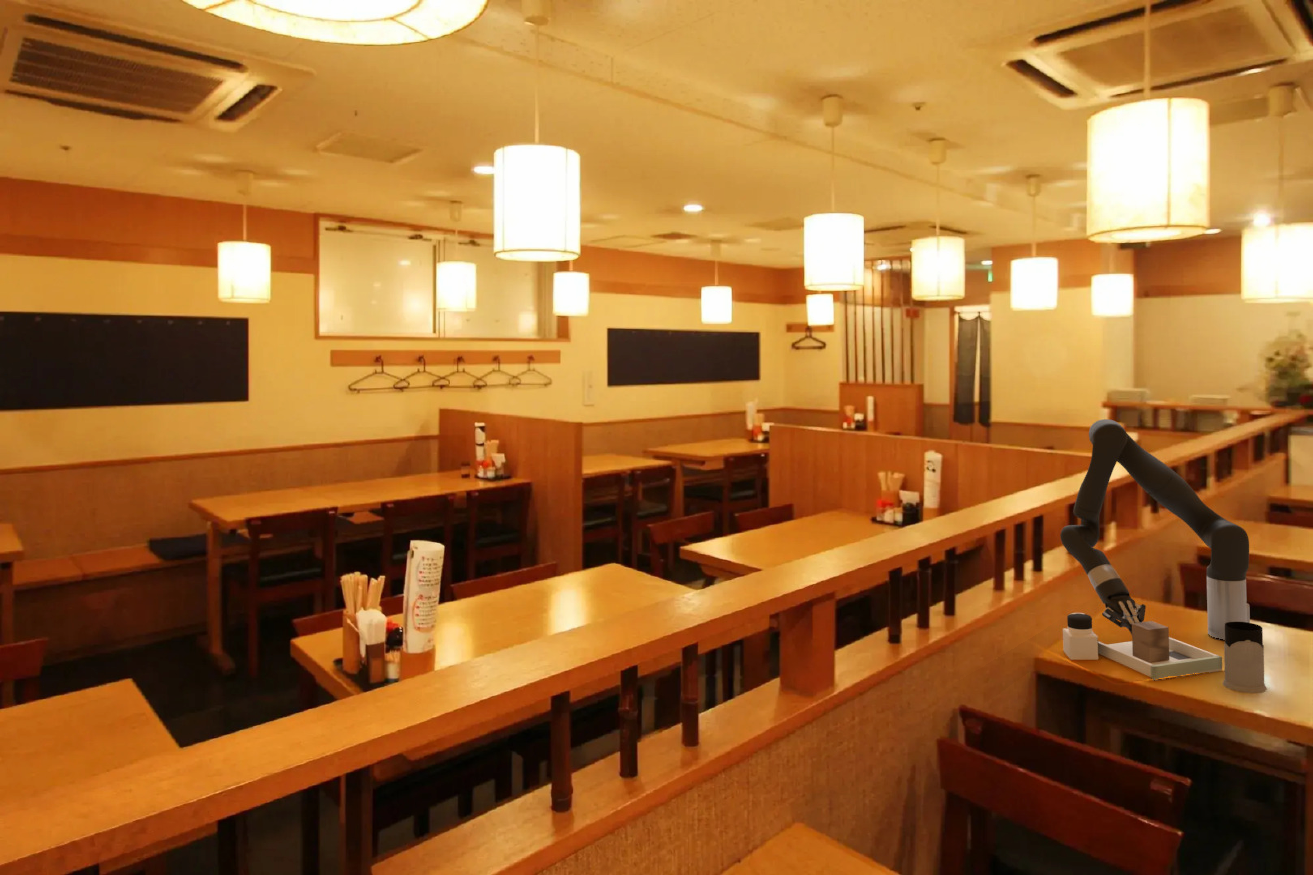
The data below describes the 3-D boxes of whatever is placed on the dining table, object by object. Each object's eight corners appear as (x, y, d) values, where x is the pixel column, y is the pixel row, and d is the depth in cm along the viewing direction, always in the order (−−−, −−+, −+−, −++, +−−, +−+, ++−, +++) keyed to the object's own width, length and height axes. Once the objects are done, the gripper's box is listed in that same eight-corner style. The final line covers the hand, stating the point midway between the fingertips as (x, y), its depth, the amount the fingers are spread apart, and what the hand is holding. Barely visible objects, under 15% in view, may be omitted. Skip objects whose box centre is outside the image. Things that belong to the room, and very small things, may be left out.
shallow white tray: (1147, 640, 234) (1147, 628, 234) (1222, 670, 209) (1222, 656, 209) (1085, 649, 231) (1085, 637, 230) (1154, 680, 206) (1153, 666, 206)
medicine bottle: (1099, 661, 221) (1097, 618, 220) (1070, 661, 223) (1069, 618, 222) (1090, 652, 228) (1089, 610, 227) (1063, 652, 229) (1061, 610, 229)
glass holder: (1227, 691, 197) (1226, 630, 196) (1213, 670, 210) (1212, 613, 209) (1271, 694, 193) (1270, 632, 192) (1254, 673, 206) (1253, 615, 205)
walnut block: (1152, 652, 223) (1151, 620, 222) (1169, 660, 217) (1168, 627, 216) (1132, 655, 222) (1131, 623, 221) (1149, 662, 216) (1148, 629, 215)
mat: (1173, 653, 223) (1173, 650, 223) (1191, 660, 218) (1191, 657, 217) (1161, 654, 223) (1161, 652, 223) (1178, 662, 217) (1178, 659, 217)
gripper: (1093, 579, 230) (1126, 634, 219) (1134, 574, 232) (1169, 629, 221) (1081, 593, 236) (1112, 647, 224) (1121, 588, 238) (1155, 642, 227)
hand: (1141, 638), depth 223 cm, fingers closed
